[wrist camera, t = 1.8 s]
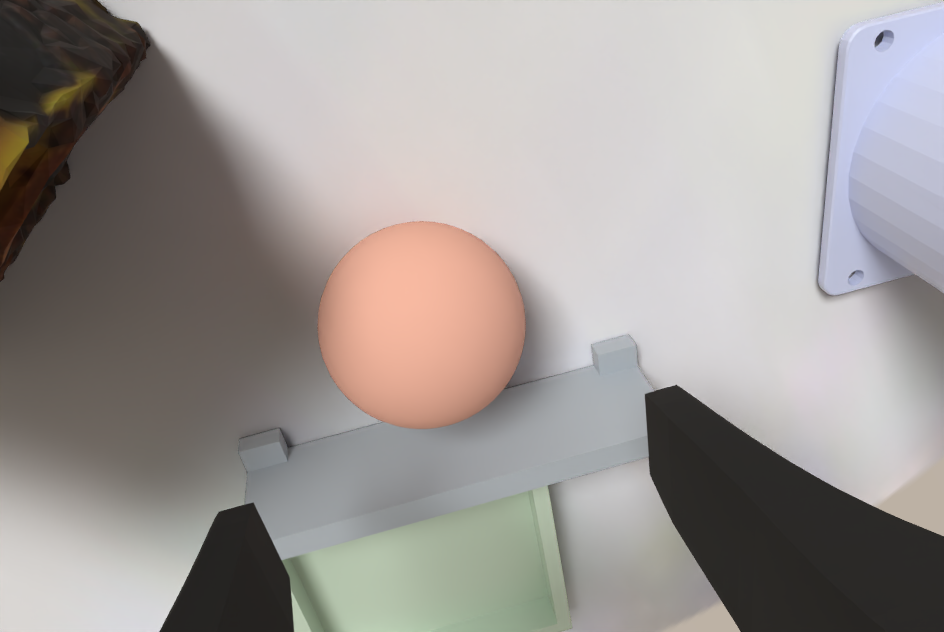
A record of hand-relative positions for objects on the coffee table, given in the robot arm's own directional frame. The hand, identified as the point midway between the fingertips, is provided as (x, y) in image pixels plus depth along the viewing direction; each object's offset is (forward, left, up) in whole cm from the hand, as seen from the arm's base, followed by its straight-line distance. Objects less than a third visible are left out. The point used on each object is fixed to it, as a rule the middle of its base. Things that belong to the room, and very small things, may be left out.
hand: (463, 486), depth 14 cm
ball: (0, 0, -6) cm, 6 cm away
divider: (0, +5, -8) cm, 10 cm away
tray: (+2, +10, -8) cm, 13 cm away
